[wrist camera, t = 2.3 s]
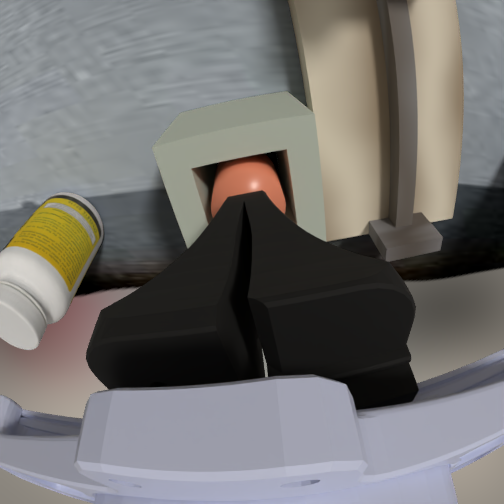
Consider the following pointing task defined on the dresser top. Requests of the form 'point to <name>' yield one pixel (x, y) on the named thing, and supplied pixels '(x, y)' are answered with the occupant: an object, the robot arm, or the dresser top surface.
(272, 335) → the robot arm
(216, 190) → the button
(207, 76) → the dresser top surface
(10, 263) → the supplement bottle
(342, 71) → the rail board
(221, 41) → the dresser top surface
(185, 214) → the cabinet
